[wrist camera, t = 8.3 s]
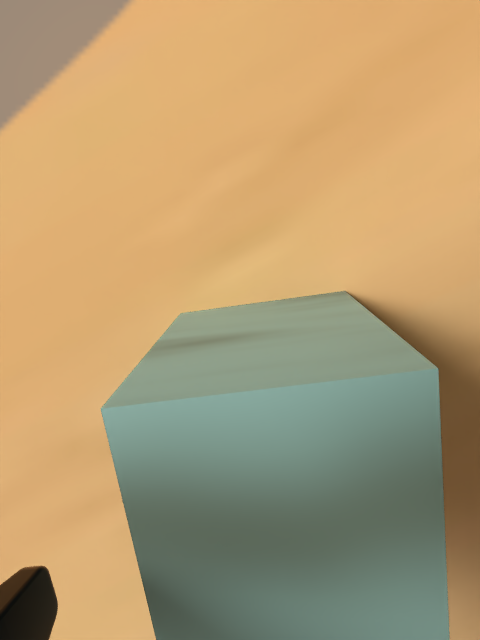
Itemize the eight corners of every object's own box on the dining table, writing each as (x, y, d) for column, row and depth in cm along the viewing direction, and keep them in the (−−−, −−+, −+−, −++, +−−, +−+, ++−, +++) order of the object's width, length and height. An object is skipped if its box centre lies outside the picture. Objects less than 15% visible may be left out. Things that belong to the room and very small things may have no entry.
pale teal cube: (358, 441, 16) (449, 644, 8) (207, 458, 17) (162, 664, 9) (344, 290, 15) (438, 367, 7) (180, 313, 15) (100, 409, 8)
